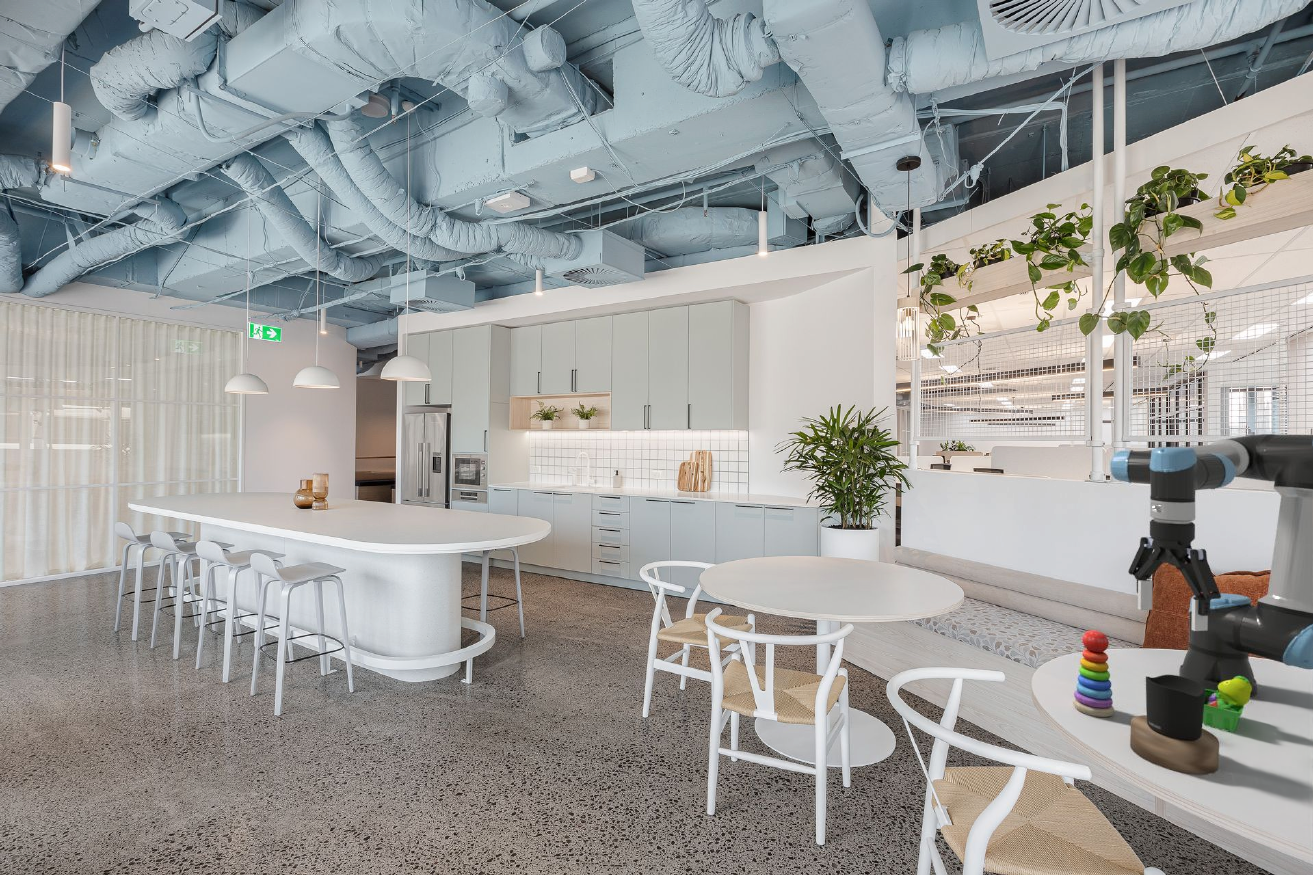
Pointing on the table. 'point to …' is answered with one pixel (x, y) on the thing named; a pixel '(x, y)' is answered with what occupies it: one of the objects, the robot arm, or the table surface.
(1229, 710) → the fruit basket
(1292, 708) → the table surface
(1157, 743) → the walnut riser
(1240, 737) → the table surface
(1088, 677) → the stacking toy
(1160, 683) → the pen holder
